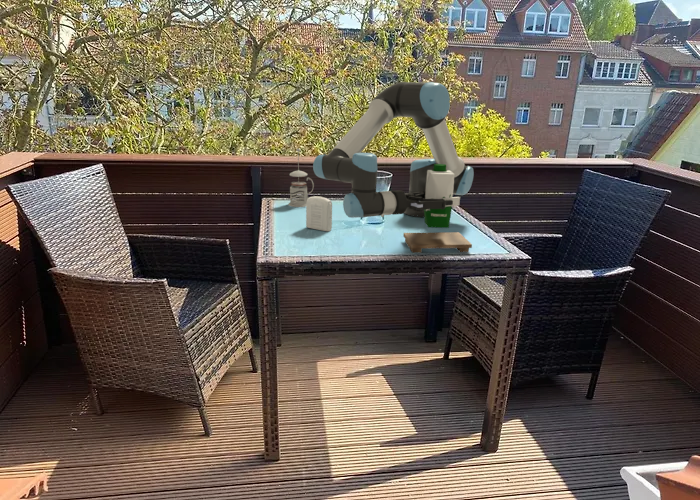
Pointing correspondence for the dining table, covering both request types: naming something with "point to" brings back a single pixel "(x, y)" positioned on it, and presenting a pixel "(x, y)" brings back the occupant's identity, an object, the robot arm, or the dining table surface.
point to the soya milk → (439, 195)
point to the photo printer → (319, 213)
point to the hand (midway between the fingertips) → (451, 198)
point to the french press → (299, 188)
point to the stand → (436, 241)
